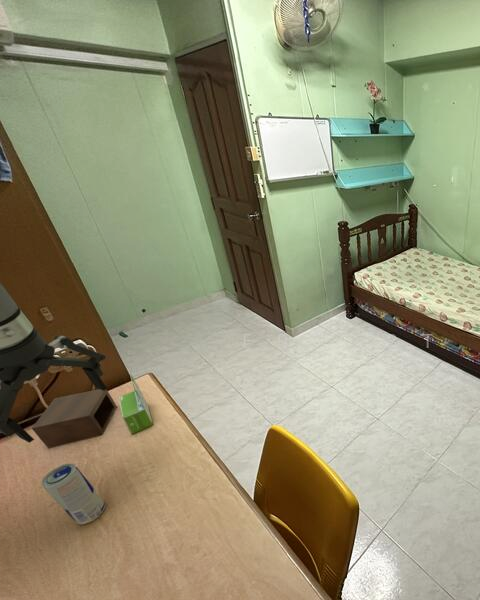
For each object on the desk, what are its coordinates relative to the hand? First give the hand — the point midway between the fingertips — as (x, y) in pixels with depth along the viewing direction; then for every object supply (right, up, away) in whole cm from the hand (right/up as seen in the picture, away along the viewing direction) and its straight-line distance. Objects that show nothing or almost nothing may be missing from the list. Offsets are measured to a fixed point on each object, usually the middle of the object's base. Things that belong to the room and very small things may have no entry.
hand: (67, 411), depth 67 cm
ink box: (-6, -12, +26) cm, 30 cm away
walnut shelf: (-20, -13, +24) cm, 34 cm away
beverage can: (+2, -25, +4) cm, 25 cm away
